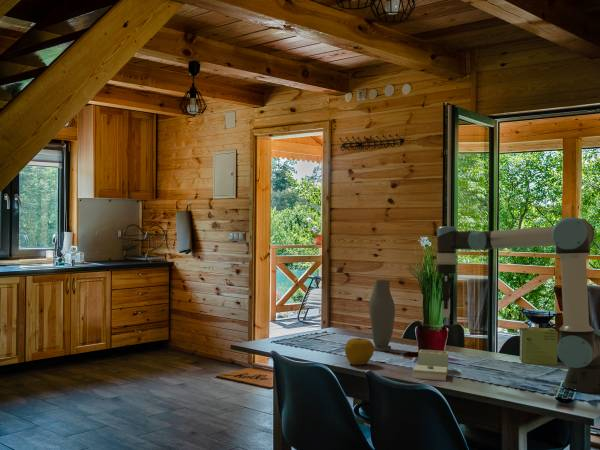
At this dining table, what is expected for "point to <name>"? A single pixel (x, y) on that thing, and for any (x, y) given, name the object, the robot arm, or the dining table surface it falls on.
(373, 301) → the vase
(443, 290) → the robot arm
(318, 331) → the dining table surface
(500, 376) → the dining table surface
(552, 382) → the dining table surface
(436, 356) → the tub
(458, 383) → the dining table surface
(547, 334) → the protein box
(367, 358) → the apple
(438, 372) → the lid
